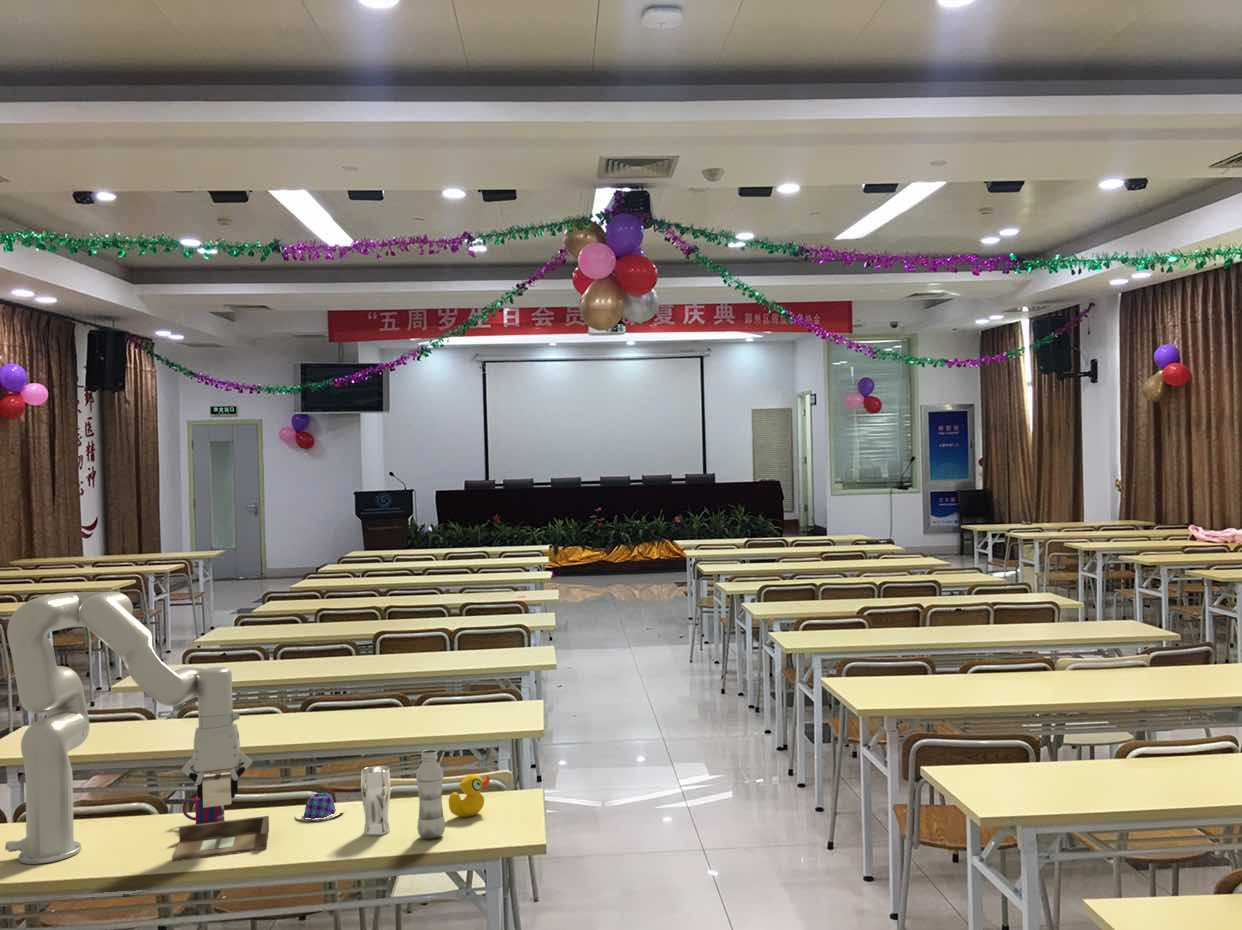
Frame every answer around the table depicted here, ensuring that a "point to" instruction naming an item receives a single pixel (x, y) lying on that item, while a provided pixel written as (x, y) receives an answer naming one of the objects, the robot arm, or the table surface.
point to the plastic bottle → (430, 796)
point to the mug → (205, 812)
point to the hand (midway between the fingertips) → (218, 797)
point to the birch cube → (217, 789)
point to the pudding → (319, 806)
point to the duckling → (469, 796)
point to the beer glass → (376, 799)
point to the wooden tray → (222, 838)
